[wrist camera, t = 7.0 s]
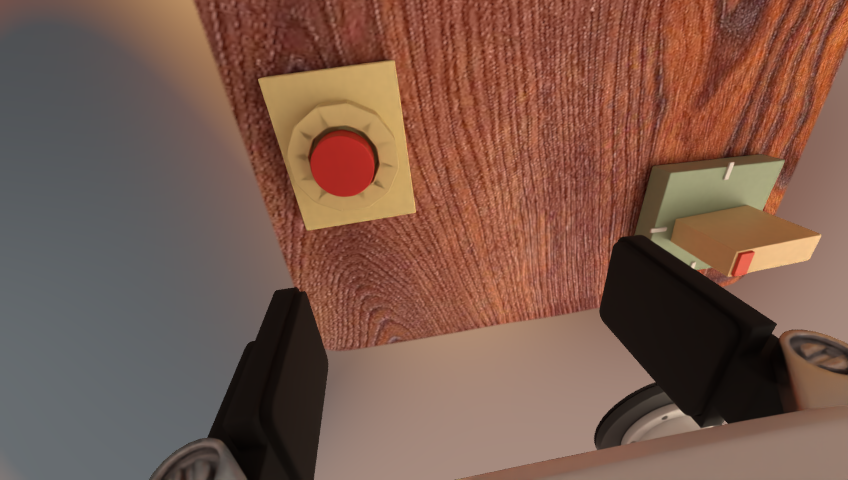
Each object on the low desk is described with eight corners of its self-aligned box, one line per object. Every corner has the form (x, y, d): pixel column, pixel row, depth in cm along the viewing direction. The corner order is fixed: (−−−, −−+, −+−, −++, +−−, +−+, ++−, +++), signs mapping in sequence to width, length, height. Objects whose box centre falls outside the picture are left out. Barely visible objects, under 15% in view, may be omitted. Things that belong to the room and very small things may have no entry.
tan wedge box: (747, 204, 29) (826, 236, 24) (739, 227, 30) (813, 262, 25) (675, 218, 29) (739, 253, 24) (669, 241, 30) (730, 279, 25)
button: (378, 182, 22) (379, 192, 21) (323, 191, 22) (319, 201, 20) (368, 125, 20) (367, 131, 19) (307, 134, 20) (302, 141, 19)
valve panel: (721, 256, 34) (741, 267, 32) (621, 269, 33) (636, 282, 31) (766, 149, 29) (793, 155, 27) (649, 161, 28) (669, 169, 26)
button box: (412, 201, 27) (419, 223, 23) (311, 218, 26) (302, 243, 23) (392, 59, 22) (396, 60, 19) (267, 76, 22) (247, 80, 18)
